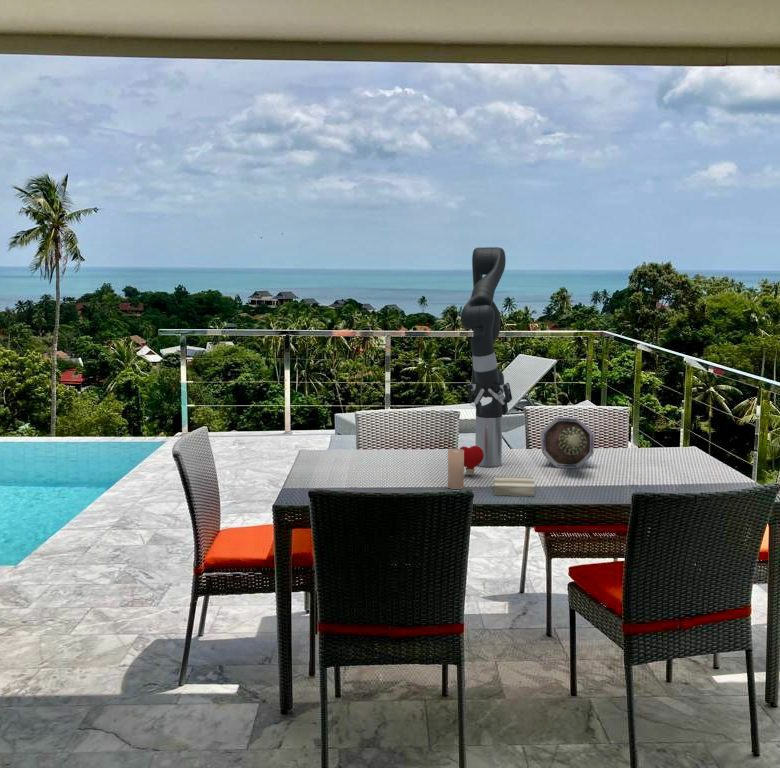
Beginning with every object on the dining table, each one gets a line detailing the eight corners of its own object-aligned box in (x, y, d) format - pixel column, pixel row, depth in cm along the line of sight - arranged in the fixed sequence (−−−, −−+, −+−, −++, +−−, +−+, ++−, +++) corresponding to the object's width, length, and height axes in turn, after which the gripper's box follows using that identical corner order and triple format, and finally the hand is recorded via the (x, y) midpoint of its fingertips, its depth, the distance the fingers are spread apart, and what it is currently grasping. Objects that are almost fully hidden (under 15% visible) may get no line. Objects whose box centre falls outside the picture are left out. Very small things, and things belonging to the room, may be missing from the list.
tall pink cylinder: (448, 485, 268) (448, 448, 266) (463, 486, 267) (464, 448, 266) (447, 489, 263) (447, 451, 261) (463, 490, 262) (463, 452, 261)
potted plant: (539, 418, 306) (546, 411, 276) (590, 421, 304) (602, 415, 275) (537, 467, 304) (543, 465, 275) (587, 470, 302) (600, 469, 273)
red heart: (460, 479, 276) (460, 449, 274) (452, 474, 282) (453, 445, 281) (487, 477, 278) (487, 447, 277) (478, 472, 285) (479, 443, 284)
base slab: (494, 485, 267) (494, 476, 267) (532, 486, 266) (532, 477, 266) (494, 495, 256) (494, 485, 255) (534, 496, 254) (534, 487, 254)
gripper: (510, 362, 269) (517, 410, 273) (469, 363, 276) (477, 409, 281) (501, 370, 262) (508, 419, 267) (460, 370, 270) (467, 418, 275)
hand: (492, 414), depth 274 cm, fingers open, 8 cm apart
